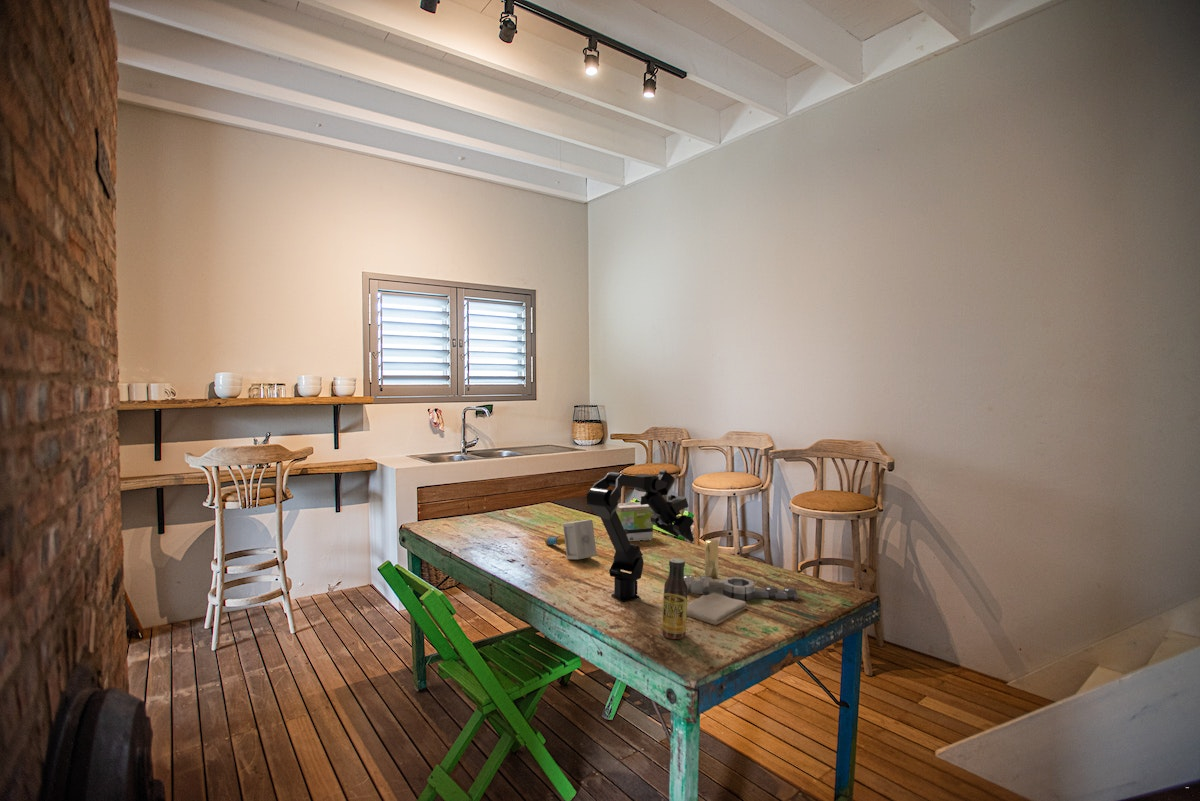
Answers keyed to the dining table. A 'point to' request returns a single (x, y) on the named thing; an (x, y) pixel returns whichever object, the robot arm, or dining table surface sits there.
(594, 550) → the hammer
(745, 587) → the chain joint
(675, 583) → the sauce bottle
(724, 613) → the washcloth
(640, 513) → the tea box
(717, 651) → the dining table surface
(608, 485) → the robot arm
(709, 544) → the brass pin
